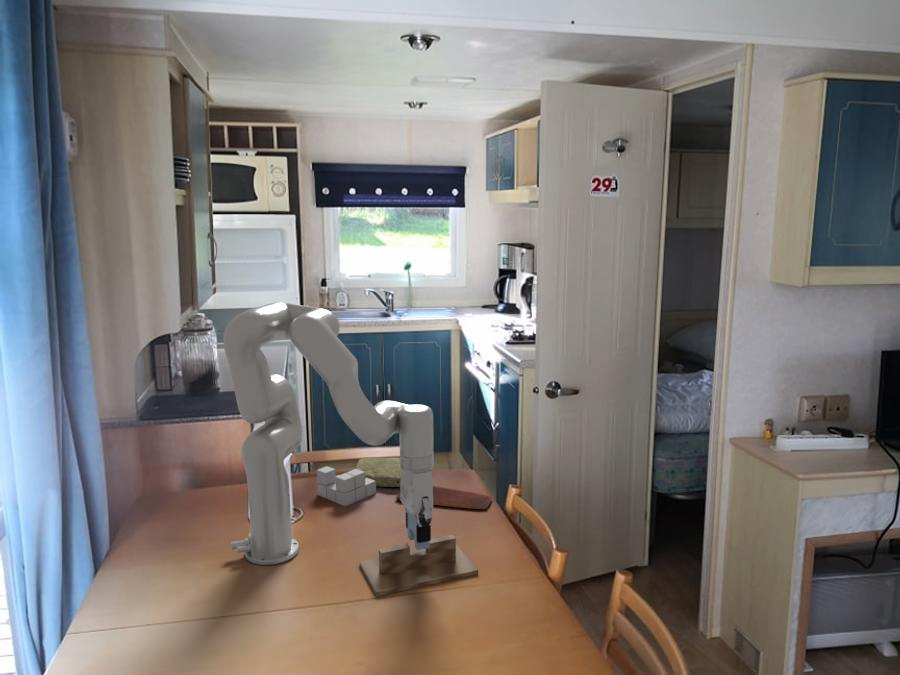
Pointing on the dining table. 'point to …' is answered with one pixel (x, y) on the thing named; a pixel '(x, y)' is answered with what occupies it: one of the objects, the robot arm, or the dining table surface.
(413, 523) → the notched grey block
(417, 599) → the dining table surface
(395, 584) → the walnut stand
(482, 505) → the wooden tablet
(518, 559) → the dining table surface
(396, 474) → the olive green flat block
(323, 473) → the puzzle cube
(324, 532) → the dining table surface
